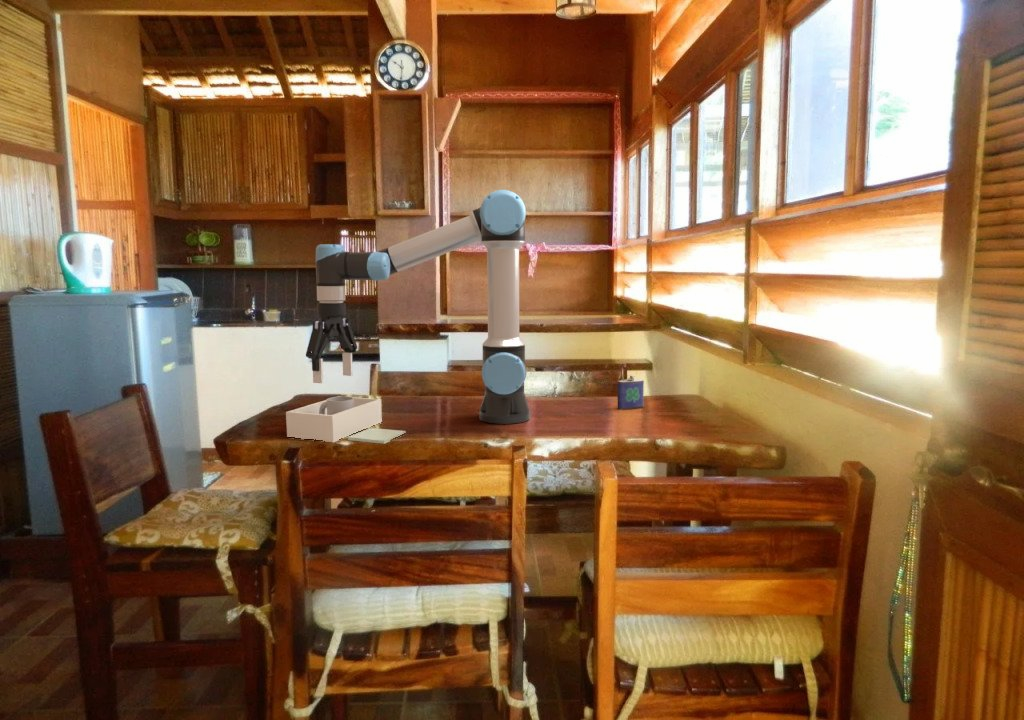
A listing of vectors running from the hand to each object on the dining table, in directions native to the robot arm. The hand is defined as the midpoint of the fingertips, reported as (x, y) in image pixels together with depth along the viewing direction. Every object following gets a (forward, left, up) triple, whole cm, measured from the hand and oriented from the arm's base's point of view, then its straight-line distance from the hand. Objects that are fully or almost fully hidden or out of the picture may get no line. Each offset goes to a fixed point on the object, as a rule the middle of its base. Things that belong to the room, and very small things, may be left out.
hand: (333, 379), depth 188 cm
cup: (0, 0, -15) cm, 15 cm away
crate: (0, 0, -14) cm, 14 cm away
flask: (-72, -56, -15) cm, 92 cm away
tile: (-15, +3, -14) cm, 21 cm away
